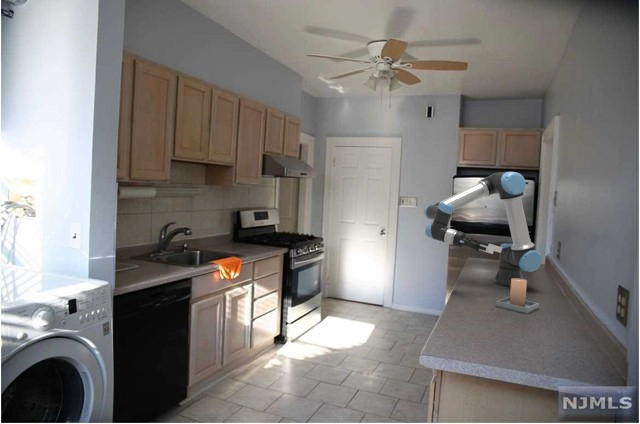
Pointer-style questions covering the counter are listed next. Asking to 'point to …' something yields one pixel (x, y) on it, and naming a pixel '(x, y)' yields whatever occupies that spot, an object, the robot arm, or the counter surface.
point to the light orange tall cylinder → (518, 292)
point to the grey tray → (527, 309)
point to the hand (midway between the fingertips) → (497, 250)
